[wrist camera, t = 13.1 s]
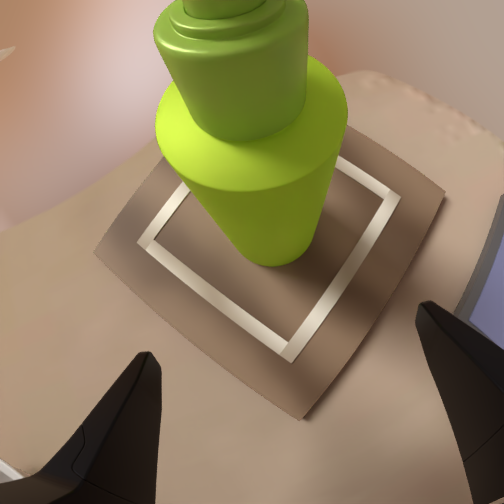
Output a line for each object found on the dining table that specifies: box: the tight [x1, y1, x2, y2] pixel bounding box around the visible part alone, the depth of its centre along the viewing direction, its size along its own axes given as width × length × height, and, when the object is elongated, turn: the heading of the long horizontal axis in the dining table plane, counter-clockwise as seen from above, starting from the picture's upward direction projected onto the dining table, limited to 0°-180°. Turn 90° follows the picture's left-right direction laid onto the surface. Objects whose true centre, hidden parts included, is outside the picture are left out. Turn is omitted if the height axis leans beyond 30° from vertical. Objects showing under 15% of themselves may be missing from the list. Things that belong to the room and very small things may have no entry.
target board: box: [93, 125, 446, 421], centre depth 22 cm, size 20×20×1 cm
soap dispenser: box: [153, 0, 348, 267], centre depth 11 cm, size 6×7×20 cm
